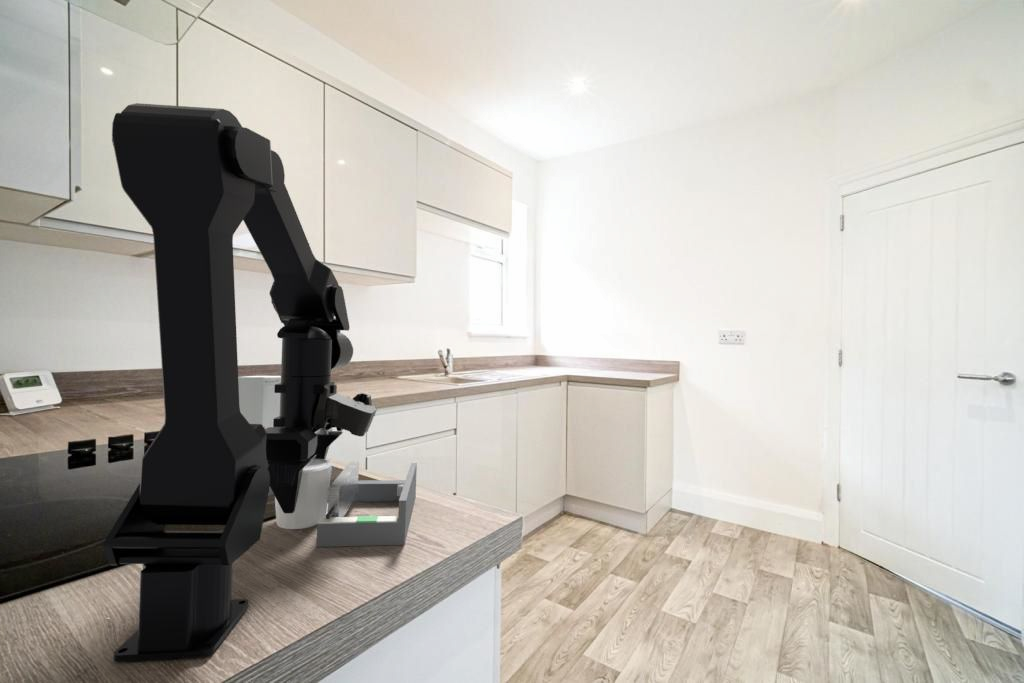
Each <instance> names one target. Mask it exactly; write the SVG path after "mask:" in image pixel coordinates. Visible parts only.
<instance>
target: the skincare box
mask: <svg viewBox="0 0 1024 683" xmlns="http://www.w3.org/2000/svg"><path fill="white" fill-rule="evenodd" d="M279 383H281V375H246V376H238V384H239V406H240V412H241V414H242V415H243V416H244V417H245V419H246V420H247V421H248V422H249V424H262V425H263V427H264V429H267V428H269V427H273V420H274V418H276V417H279V416H280V393H274V391H275V384H279Z"/></svg>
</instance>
